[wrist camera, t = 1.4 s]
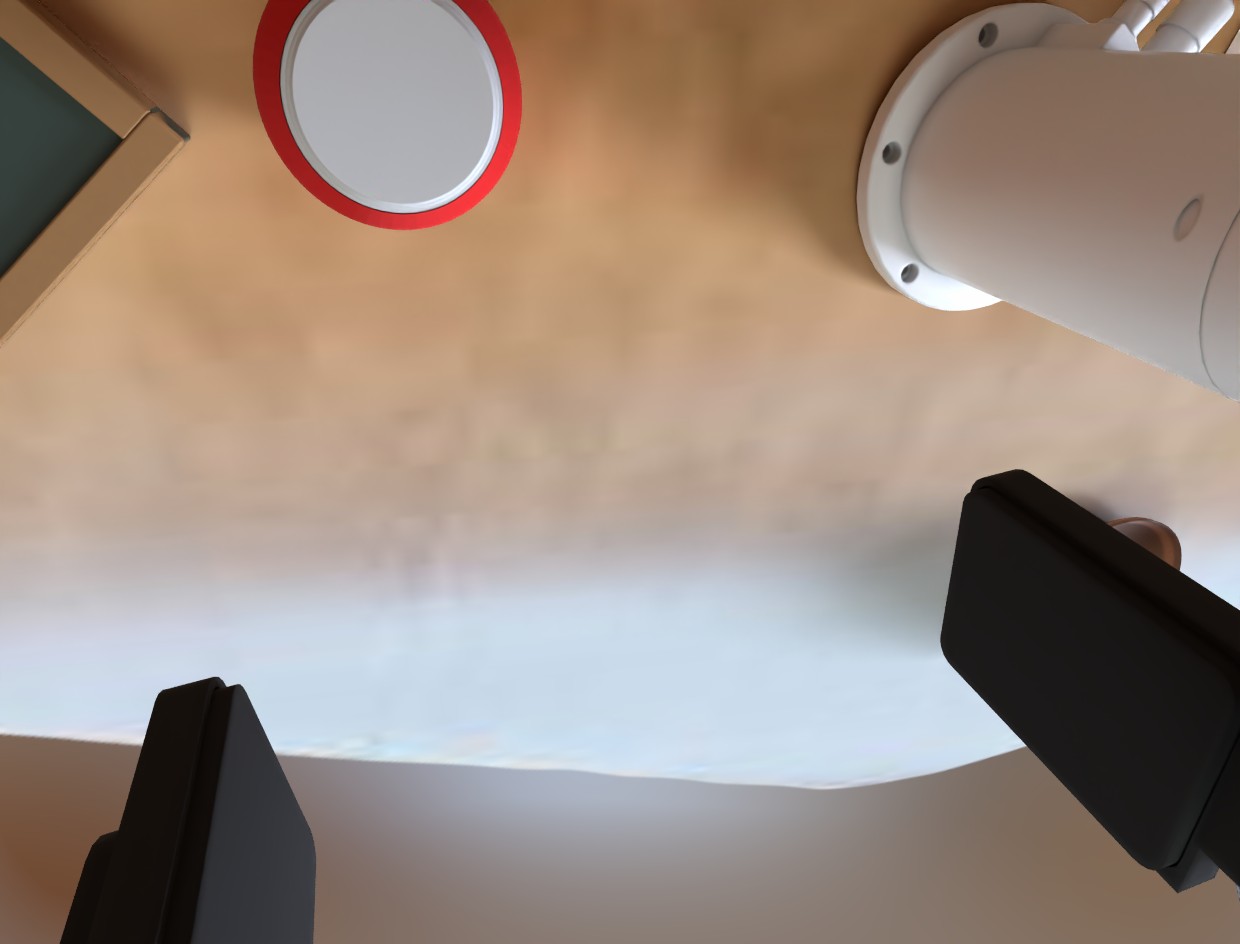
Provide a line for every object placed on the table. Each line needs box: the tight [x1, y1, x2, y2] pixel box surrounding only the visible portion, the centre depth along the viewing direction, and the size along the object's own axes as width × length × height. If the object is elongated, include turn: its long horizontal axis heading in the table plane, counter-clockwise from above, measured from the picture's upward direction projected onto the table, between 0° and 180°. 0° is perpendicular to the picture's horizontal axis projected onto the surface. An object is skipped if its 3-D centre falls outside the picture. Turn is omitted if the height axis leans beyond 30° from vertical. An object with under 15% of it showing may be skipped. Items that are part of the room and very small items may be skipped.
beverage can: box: [253, 0, 522, 230], centre depth 22 cm, size 6×6×12 cm
